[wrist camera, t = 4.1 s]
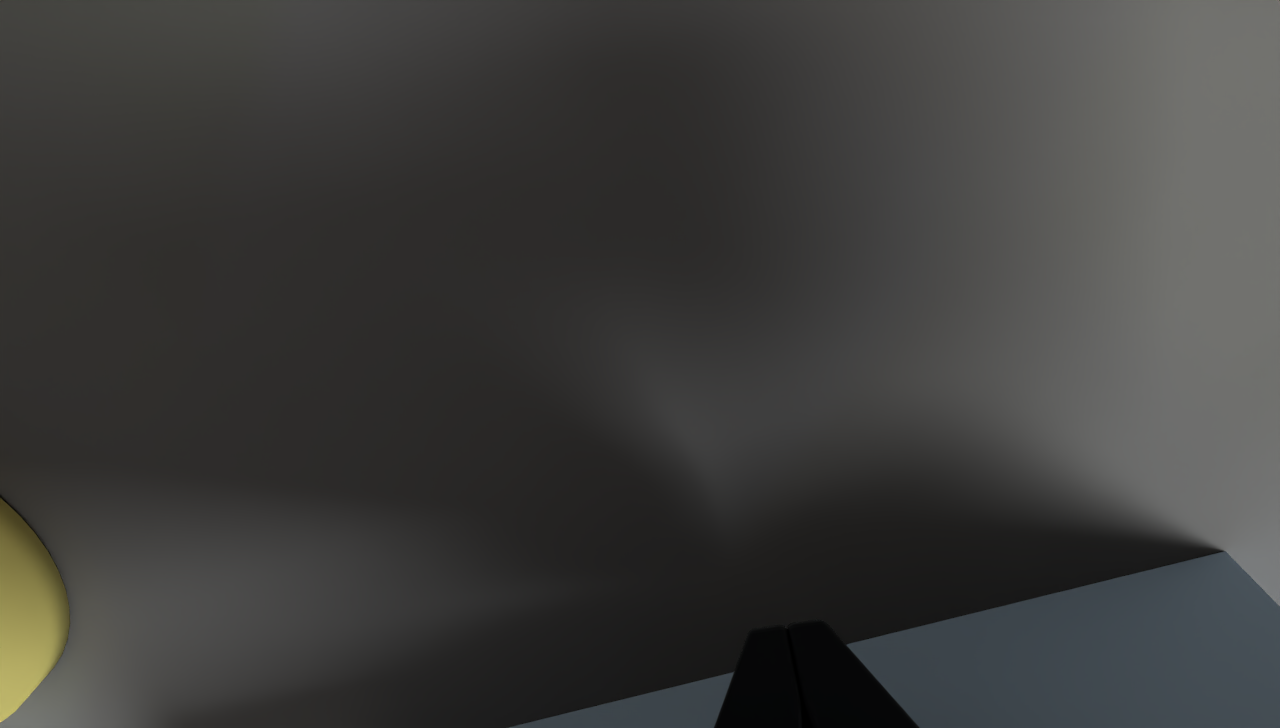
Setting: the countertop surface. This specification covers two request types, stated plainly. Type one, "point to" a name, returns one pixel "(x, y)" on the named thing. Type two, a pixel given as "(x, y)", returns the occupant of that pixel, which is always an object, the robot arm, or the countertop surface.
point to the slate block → (1054, 661)
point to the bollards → (27, 611)
